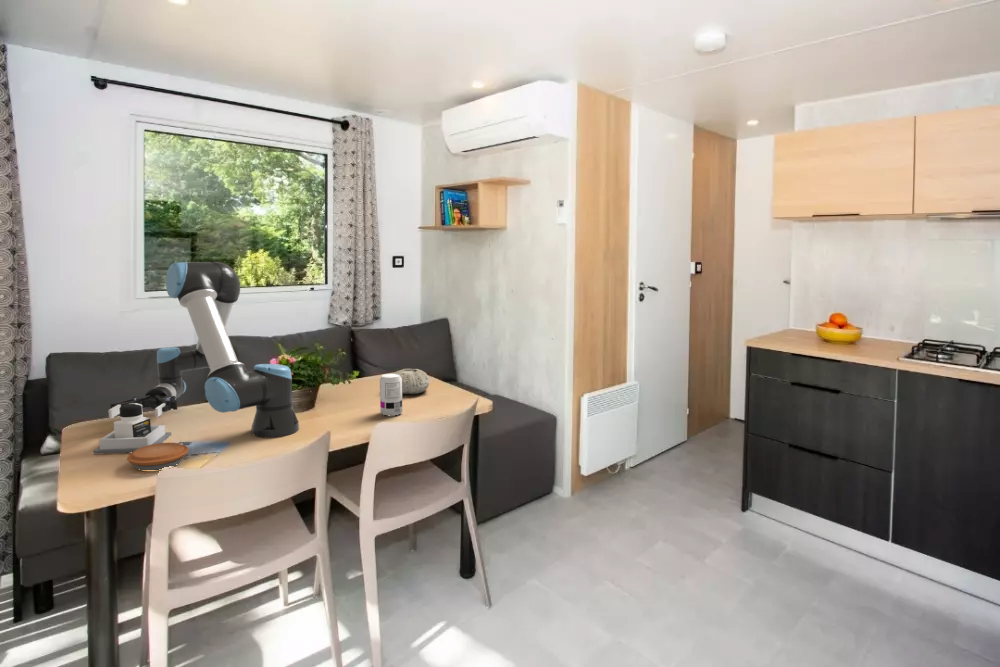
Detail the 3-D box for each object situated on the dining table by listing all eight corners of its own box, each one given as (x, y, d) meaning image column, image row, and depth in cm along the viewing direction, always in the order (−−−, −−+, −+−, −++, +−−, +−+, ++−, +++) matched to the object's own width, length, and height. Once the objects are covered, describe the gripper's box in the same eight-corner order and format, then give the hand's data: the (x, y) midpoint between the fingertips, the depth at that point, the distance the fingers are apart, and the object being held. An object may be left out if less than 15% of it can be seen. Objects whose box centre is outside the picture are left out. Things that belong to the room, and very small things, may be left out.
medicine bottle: (134, 445, 178) (131, 408, 176) (114, 444, 180) (111, 407, 178) (152, 438, 185) (149, 402, 183) (133, 436, 186) (130, 401, 185)
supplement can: (376, 415, 217) (375, 376, 215) (388, 409, 225) (387, 372, 222) (394, 417, 214) (394, 378, 212) (406, 412, 222) (405, 374, 219)
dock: (171, 435, 192) (170, 423, 191) (150, 451, 176) (149, 439, 175) (118, 437, 189) (117, 425, 188) (93, 454, 173) (92, 441, 173)
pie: (116, 467, 164) (115, 450, 163) (171, 451, 177) (170, 436, 176) (145, 479, 156) (144, 462, 155) (200, 461, 169) (199, 445, 168)
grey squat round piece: (422, 398, 241) (422, 375, 240) (382, 396, 245) (381, 373, 243) (434, 388, 259) (434, 367, 257) (397, 386, 262) (396, 365, 260)
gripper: (198, 405, 206) (176, 423, 186) (122, 407, 202) (91, 426, 181) (197, 385, 205) (174, 400, 184) (121, 387, 201) (89, 403, 180)
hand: (133, 413), depth 183 cm, fingers open, 13 cm apart
